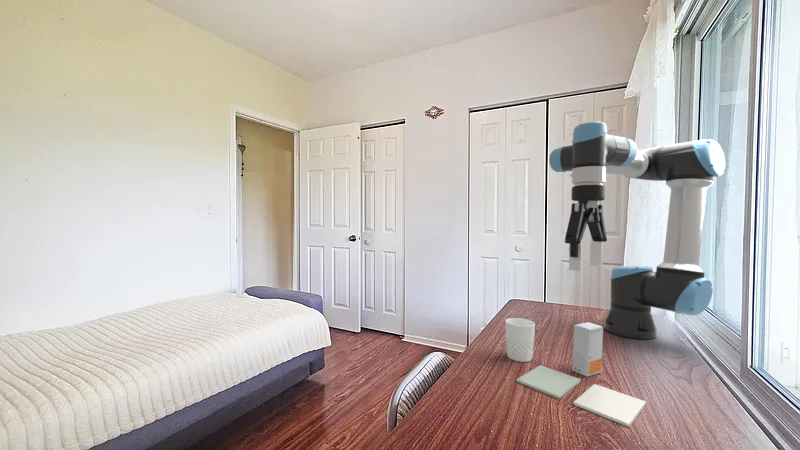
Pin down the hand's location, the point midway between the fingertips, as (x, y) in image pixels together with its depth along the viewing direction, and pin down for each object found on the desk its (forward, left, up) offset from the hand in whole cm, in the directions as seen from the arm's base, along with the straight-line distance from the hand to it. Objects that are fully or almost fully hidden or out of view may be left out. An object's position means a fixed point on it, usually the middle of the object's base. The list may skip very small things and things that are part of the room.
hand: (586, 268), depth 87 cm
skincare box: (0, +1, -27) cm, 27 cm away
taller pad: (+13, +10, -27) cm, 31 cm away
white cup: (+5, -15, -27) cm, 31 cm away
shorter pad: (+13, -3, -27) cm, 30 cm away
